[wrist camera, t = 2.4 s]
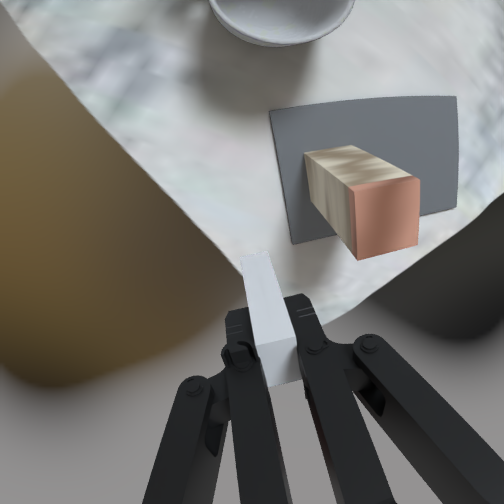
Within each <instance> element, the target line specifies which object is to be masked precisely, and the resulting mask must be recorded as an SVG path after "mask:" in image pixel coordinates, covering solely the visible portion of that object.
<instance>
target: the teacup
mask: <svg viewBox="0 0 504 504" xmlns="http://www.w3.org/2000/svg"><path fill="white" fill-rule="evenodd" d="M208 1H209V3H210V5H211V8H212V10H213V12H214V14H215V16H216V17H217V19H218V20H219V22H220V23H221V24H222V25H223V26H224V27H225V28H226V29H227V30H228V31H229V32H231V33H232V34H233V35H235V36H237V37H238V38H240V39H242V40H244V41H247V42H249V43H252V44H256V45H261V46H267V47H284V46H291V45H296V44H302V43H306V42H310V41H313V40H317V39H320V38H321V37H323V36H326V35H328V34H329V33H331V32H332V31H334V30H335V29H336V28H338V27H339V26H340V25H341V24H342V23H343V22H344V21H345V19H346V18H347V17H348V15H349V14H350V12H351V10H352V8H353V5H354V2H355V0H208Z"/></svg>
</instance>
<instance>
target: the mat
mask: <svg viewBox="0 0 504 504" xmlns="http://www.w3.org/2000/svg"><path fill="white" fill-rule="evenodd" d="M269 114H270V119H271V124H272V129H273V134H274V140H275V145H276V150H277V156H278V161H279V167H280V173H281V178H282V184H283V190H284V196H285V202H286V208H287V214H288V220H289V226H290V233H291V239H292V244H293V245H294V244H298V243H302V242H307V241H311V240H316V239H320V238H324V237H329V236H333V235H337V233H336V232H335V231H334V229H333V228H332V227H331V225H330V224H329V223H328V222H327V220H326V219H325V218H324V217H323V215H322V214H321V213H320V212H319V210H318V209H317V208H316V207H315V205H314V204H313V203H312V202H311V199H310V192H309V184H308V177H307V170H306V164H305V157H304V153H305V152H311V151H317V150H323V149H329V148H335V147H342V146H348V145H353V146H355V147H357V148H359V149H361V150H363V151H366V152H368V153H370V154H372V155H374V156H376V157H378V158H380V159H382V160H384V161H386V162H388V163H390V164H392V165H394V166H396V167H398V168H399V169H401V170H403V171H405V172H407V173H409V174H411V175H412V176H414V177H416V178H418V179H420V212H419V216H420V215H425V214H429V213H433V212H438V211H442V210H446V209H451V208H455V207H456V205H457V189H458V161H459V141H458V113H457V98H456V96H404V97H383V98H369V99H357V100H346V101H337V102H328V103H320V104H312V105H305V106H298V107H292V108H285V109H279V110H274V111H269Z"/></svg>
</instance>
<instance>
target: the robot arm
mask: <svg viewBox="0 0 504 504" xmlns="http://www.w3.org/2000/svg"><path fill="white" fill-rule="evenodd" d="M240 261H241V266H242V272H243V278H244V284H245V290H246V295H247V300H248V307H246V308H241V309H237V310H232V311H229V312H228V314H227V316H226V318H225V325H226V338H227V344H226V345H225V346H224V347H223V349H222V351H221V357H222V359H223V362H224V364H225V368H224V369H223V370H222V371H221V372H220V373H218V374H217V375H215V376H213V377H210V378H208V379H207V378H205V377H203V376H192V377H189V378H187V379H185V380H184V381H183V382H182V383H181V384H180V386H179V388H178V391H177V394H176V397H175V400H174V403H173V406H172V409H171V412H170V415H169V418H168V422H167V424H166V428H165V431H164V434H163V437H162V440H161V443H160V447H159V450H158V453H157V456H156V459H155V463H154V466H153V469H152V472H151V476H150V479H149V482H148V485H147V489H146V492H145V496H144V499H143V502H142V504H212V502H213V498H214V492H215V488H216V482H217V478H218V472H219V467H220V462H221V457H222V452H223V446H224V442H225V437H226V432H227V426H228V421H230V420H231V423H232V433H233V443H234V452H235V461H236V469H237V478H238V486H239V495H240V503H241V504H293V503H292V498H291V494H290V489H289V484H288V480H287V475H286V470H285V465H284V461H283V456H282V452H281V446H280V442H279V437H278V432H277V427H276V423H275V418H274V413H273V408H272V403H271V398H270V394H269V391H268V387H272V386H276V385H280V384H285V383H289V382H293V381H297V380H301V379H303V383H304V390H305V398H306V399H307V400H308V404H309V407H310V410H311V414H312V418H313V421H314V424H315V428H316V431H317V434H318V438H319V442H320V445H321V449H322V452H323V456H324V459H325V463H326V466H327V470H328V473H329V477H330V481H331V484H332V488H333V491H334V495H335V498H336V502H337V504H397V503H396V502H395V500H394V498H393V495H392V492H391V490H390V487H389V484H388V481H387V479H386V476H385V474H384V471H383V468H382V466H381V463H380V460H379V458H378V455H377V452H376V450H375V447H374V445H373V442H372V440H371V437H370V435H369V432H368V430H367V427H366V424H365V422H364V419H363V417H362V414H361V412H360V409H359V407H358V404H357V402H356V400H355V397H354V395H353V392H354V394H355V395H356V396H357V398H358V399H359V400H360V401H361V403H362V404H363V405H364V406H365V408H366V409H367V410H368V411H369V412H370V414H371V415H372V416H373V418H374V419H375V420H376V421H377V423H378V424H379V425H380V426H381V427H382V428H383V430H384V431H385V432H386V434H387V435H388V436H389V437H390V438H391V440H392V441H393V443H394V444H395V445H396V446H397V447H398V449H399V450H400V451H401V452H402V453H403V455H404V456H405V457H406V459H407V460H408V461H409V462H410V464H411V465H412V466H413V467H414V468H415V470H416V471H417V472H418V474H419V475H420V476H421V477H422V478H423V480H424V481H425V482H426V483H427V485H428V486H429V487H430V488H431V490H432V491H433V492H434V493H435V494H436V496H437V497H438V498H439V499H440V501H441V502H442V503H443V504H504V461H503V460H502V459H501V458H500V457H499V456H498V455H497V453H495V451H494V450H493V449H492V448H491V447H490V446H489V445H488V444H487V443H486V442H485V441H484V440H483V439H482V438H481V437H480V436H479V434H478V433H477V432H476V431H475V430H474V429H473V428H472V427H471V426H470V425H469V424H468V423H467V422H466V421H465V420H464V419H463V418H462V417H461V416H460V415H459V414H458V413H457V412H456V411H455V410H454V409H453V408H452V407H451V406H450V405H449V404H448V402H446V400H445V399H444V398H443V397H441V396H440V394H439V393H438V392H437V391H436V390H435V389H434V388H433V387H432V386H431V385H430V384H429V383H428V382H427V381H426V380H425V379H424V378H422V376H421V375H420V374H419V373H418V372H417V371H416V370H415V369H414V368H413V367H411V365H410V364H408V362H407V361H405V360H404V359H403V358H402V357H401V356H400V355H399V354H398V353H397V352H396V351H395V350H394V349H393V348H392V347H391V346H390V345H389V344H388V343H387V342H386V341H385V340H384V339H383V338H382V337H380V336H378V335H375V334H365V335H362V336H360V337H358V338H357V339H356V340H355V342H354V344H338V343H335V342H332V341H330V340H329V339H328V338H327V337H326V336H325V334H324V331H323V329H322V327H321V324H320V322H319V320H318V317H317V315H316V314H315V311H314V308H313V306H312V304H311V301H310V299H309V298H308V297H306V296H305V295H304V294H302V293H301V294H297V295H293V296H289V297H285V298H283V296H282V293H281V290H280V287H279V284H278V281H277V278H276V275H275V272H274V269H273V266H272V263H271V260H270V257H269V254H268V251H264V252H260V253H256V254H252V255H247V256H243V257H240ZM352 391H353V392H352Z"/></svg>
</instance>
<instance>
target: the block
mask: <svg viewBox="0 0 504 504" xmlns="http://www.w3.org/2000/svg"><path fill="white" fill-rule="evenodd" d="M304 157H305V164H306V170H307V177H308V184H309V192H310V199H311V202H312V203H313V204H314V205H315V207H316V208H317V209H318V210H319V212H320V213H321V214H322V215H323V217H324V218H325V219H326V220H327V222H328V223H329V224H330V225H331V227H332V228H333V229H334V231H335V232H336V233H337V234H338V236H339V237H340V238H341V240H342V241H343V242H344V244H345V245H346V246H347V248H348V249H349V250H350V251H351V253H352V254H353V255H354V257H355V258H356V259H357V261H358V260H362V259H366V258H370V257H374V256H378V255H382V254H385V253H389V252H393V251H397V250H401V249H404V248H408V247H412V246H415V245H418V232H419V212H420V179H418V178H416V177H414V176H412V175H411V174H409V173H407V172H405V171H403V170H401V169H399V168H398V167H396V166H394V165H392V164H390V163H388V162H386V161H384V160H382V159H380V158H378V157H376V156H374V155H372V154H370V153H368V152H366V151H363V150H361V149H359V148H357V147H355V146H353V145H348V146H342V147H335V148H329V149H323V150H317V151H311V152H305V153H304Z"/></svg>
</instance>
